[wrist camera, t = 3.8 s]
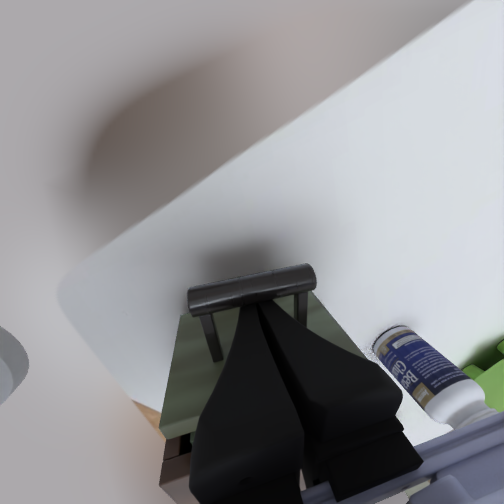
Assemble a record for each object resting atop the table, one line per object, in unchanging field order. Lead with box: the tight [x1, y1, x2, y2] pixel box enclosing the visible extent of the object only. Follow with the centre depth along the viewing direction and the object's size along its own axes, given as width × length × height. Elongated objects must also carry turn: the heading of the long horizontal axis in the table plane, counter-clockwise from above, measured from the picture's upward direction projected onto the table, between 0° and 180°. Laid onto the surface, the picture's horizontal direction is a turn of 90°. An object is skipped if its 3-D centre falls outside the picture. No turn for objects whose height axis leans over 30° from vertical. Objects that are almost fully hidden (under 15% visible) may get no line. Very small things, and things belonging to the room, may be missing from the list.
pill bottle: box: [374, 327, 500, 430], centre depth 19 cm, size 5×5×10 cm
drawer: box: [159, 263, 368, 446], centre depth 13 cm, size 17×10×7 cm, turn 6°
